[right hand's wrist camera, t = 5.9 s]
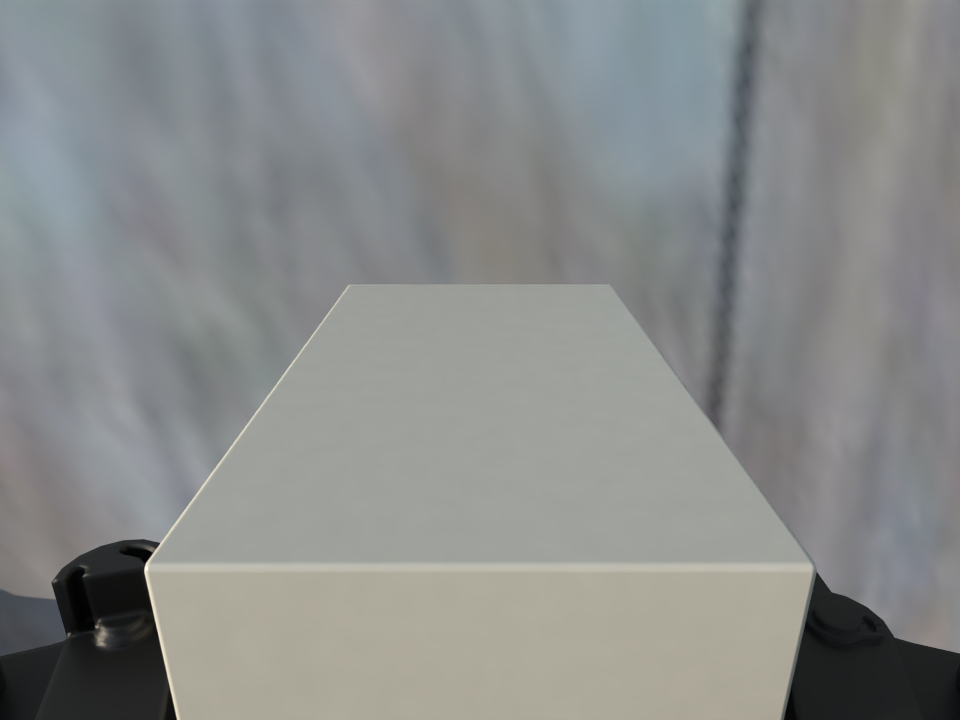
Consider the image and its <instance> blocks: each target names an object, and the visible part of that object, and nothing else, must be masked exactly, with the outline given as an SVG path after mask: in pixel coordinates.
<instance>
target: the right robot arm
mask: <svg viewBox="0 0 960 720" xmlns="http://www.w3.org/2000/svg"><path fill="white" fill-rule="evenodd" d="M159 545H160V543H158V542H153V541H149V540H144V539H141V540H123V541H119V542H115V543H111V544H107V545H103V546H100V547H98V548H96V549H94V550H91V551H89V552H87V553H85V554H82V555H80V556H79V557H77V558H76V559H75V560H73V561H72V562H70V563H69V564H68V565H66V566H65V567H63V568H62V569H61V571H60V572H59V573H58V575H57V576H56V577H55V578H54V580H53V581H52V586H53V589H54V593H55V596H56V600H57V603H58V607H59V610H60V614H61V617H62V621H63V624H64V628H65V631H66V635H67V638H66V640H65V641H62V642H59V643H56V644H52V645H49V646H44V647H40V648H35V649H31V650H27V651H22V652H18V653H13V654H9V655H5V656H0V720H177V717H176V712H175V708H174V703H173V699H172V694H171V690H170V685H169V681H168V676H167V672H166V667H165V663H164V658H163V654H162V649H161V644H160V640H159V635H158V631H157V626H156V622H155V617H154V613H153V608H152V604H151V599H150V595H149V590H148V586H147V581H146V577H145V572H144V571H145V565H146V563H147V561H148V560H149V559H150V557H151V556H152V554H153V553H154V552H155V550H156V549H157V548H158V546H159ZM784 720H960V654H959V653H955V652H950V651H946V650H941V649H937V648H933V647H928V646H924V645H919V644H915V643H911V642H907V641H904V640H900V639H897V638H894V636H893V635H892V633H891V632H890V630H889V628H888V627H887V625H886V624H885V622H884V621H883V620H882V619H881V618H879V617H878V616H877V615H876V614H875V613H873V612H872V611H871V610H870V609H869V608H867V607H866V606H864V605H862V604H860V603H858V602H856V601H854V600H852V599H850V598H848V597H846V596H842V595H839V594H835V593H832V592H831V591H830V590H829V588H828V587H827V585H826V584H825V583H824V581H823V580H822V579H821V577H820V576H819V574H818V573H816V577H815V582H814V586H813V591H812V595H811V600H810V604H809V609H808V613H807V617H806V622H805V626H804V631H803V635H802V640H801V644H800V649H799V653H798V658H797V662H796V667H795V671H794V676H793V680H792V685H791V689H790V694H789V698H788V703H787V707H786V712H785V716H784Z"/></svg>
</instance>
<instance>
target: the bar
mask: <svg viewBox="0 0 960 720" xmlns="http://www.w3.org/2000/svg"><path fill="white" fill-rule="evenodd" d="M144 572H145V577H146V581H147V586H148V590H149V595H150V599H151V604H152V608H153V613H154V617H155V622H156V626H157V631H158V635H159V640H160V644H161V649H162V654H163V658H164V663H165V667H166V672H167V676H168V681H169V685H170V690H171V694H172V699H173V703H174V708H175V712H176V717H177V720H784V716H785V712H786V707H787V703H788V698H789V694H790V689H791V685H792V680H793V676H794V671H795V667H796V662H797V658H798V653H799V649H800V644H801V640H802V635H803V631H804V626H805V622H806V617H807V613H808V609H809V604H810V600H811V595H812V591H813V586H814V582H815V577H816V573H817V570H816V565H815V563H814V561H813V560H812V559H811V557H810V556H809V554H808V553H807V552H806V550H805V549H804V548H803V546H802V545H801V543H800V542H799V541H798V539H797V538H796V537H795V535H794V534H793V533H792V531H791V530H790V528H789V527H788V526H787V524H786V523H785V522H784V520H783V519H782V518H781V516H780V515H779V513H778V512H777V511H776V509H775V508H774V507H773V505H772V504H771V502H770V501H769V500H768V498H767V497H766V496H765V494H764V493H763V492H762V490H761V489H760V487H759V486H758V485H757V483H756V482H755V481H754V479H753V478H752V476H751V475H750V474H749V472H748V471H747V470H746V468H745V467H744V466H743V464H742V463H741V461H740V460H739V459H738V457H737V456H736V455H735V453H734V452H733V451H732V449H731V448H730V446H729V445H728V444H727V442H726V441H725V440H724V438H723V437H722V435H721V434H720V433H719V431H718V430H717V429H716V427H715V426H714V425H713V423H712V422H711V420H710V419H709V418H708V416H707V415H706V414H705V412H704V411H703V410H702V408H701V407H700V405H699V404H698V403H697V401H696V400H695V399H694V397H693V396H692V394H691V393H690V392H689V390H688V389H687V388H686V386H685V385H684V384H683V382H682V381H681V379H680V378H679V377H678V375H677V374H676V373H675V371H674V370H673V369H672V367H671V366H670V364H669V363H668V362H667V360H666V359H665V358H664V356H663V355H662V353H661V352H660V351H659V349H658V348H657V347H656V345H655V344H654V343H653V341H652V340H651V338H650V337H649V336H648V334H647V333H646V332H645V330H644V329H643V328H642V326H641V325H640V323H639V322H638V321H637V319H636V318H635V317H634V315H633V314H632V312H631V311H630V310H629V308H628V307H627V306H626V304H625V303H624V302H623V300H622V299H621V297H620V296H619V295H618V293H617V292H616V291H615V289H614V288H613V286H612V285H610V284H351V285H349V286H348V287H347V288H346V290H345V291H344V292H343V294H342V295H341V297H340V298H339V299H338V301H337V302H336V303H335V305H334V306H333V308H332V309H331V310H330V312H329V313H328V314H327V316H326V317H325V319H324V320H323V321H322V323H321V324H320V325H319V327H318V328H317V329H316V331H315V332H314V334H313V335H312V336H311V338H310V339H309V340H308V342H307V343H306V345H305V346H304V347H303V349H302V350H301V351H300V353H299V354H298V356H297V357H296V358H295V360H294V361H293V362H292V364H291V365H290V367H289V368H288V369H287V371H286V372H285V373H284V375H283V376H282V377H281V379H280V380H279V382H278V383H277V384H276V386H275V387H274V388H273V390H272V391H271V393H270V394H269V395H268V397H267V398H266V399H265V401H264V402H263V404H262V405H261V406H260V408H259V409H258V410H257V412H256V413H255V415H254V416H253V417H252V419H251V420H250V421H249V423H248V424H247V425H246V427H245V428H244V430H243V431H242V432H241V434H240V435H239V436H238V438H237V439H236V441H235V442H234V443H233V445H232V446H231V447H230V449H229V450H228V452H227V453H226V454H225V456H224V457H223V458H222V460H221V461H220V463H219V464H218V465H217V467H216V468H215V469H214V471H213V472H212V473H211V475H210V476H209V478H208V479H207V480H206V482H205V483H204V484H203V486H202V487H201V489H200V490H199V491H198V493H197V494H196V495H195V497H194V498H193V500H192V501H191V502H190V504H189V505H188V506H187V508H186V509H185V511H184V512H183V513H182V515H181V516H180V517H179V519H178V520H177V521H176V523H175V524H174V526H173V527H172V528H171V530H170V531H169V532H168V534H167V535H166V537H165V538H164V539H163V541H162V542H161V543H160V545H159V546H158V548H157V549H156V550H155V552H154V553H153V554H152V556H151V557H150V559H149V560H148V561H147V563H146V565H145V571H144Z"/></svg>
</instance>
